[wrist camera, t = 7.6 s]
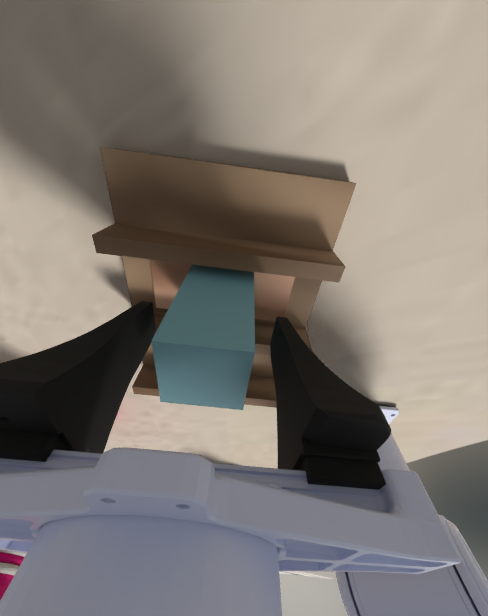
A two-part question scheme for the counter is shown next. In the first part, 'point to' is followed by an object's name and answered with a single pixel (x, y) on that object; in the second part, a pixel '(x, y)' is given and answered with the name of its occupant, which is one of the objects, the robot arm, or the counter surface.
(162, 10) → the counter surface
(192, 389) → the plug block
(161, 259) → the slot rack
